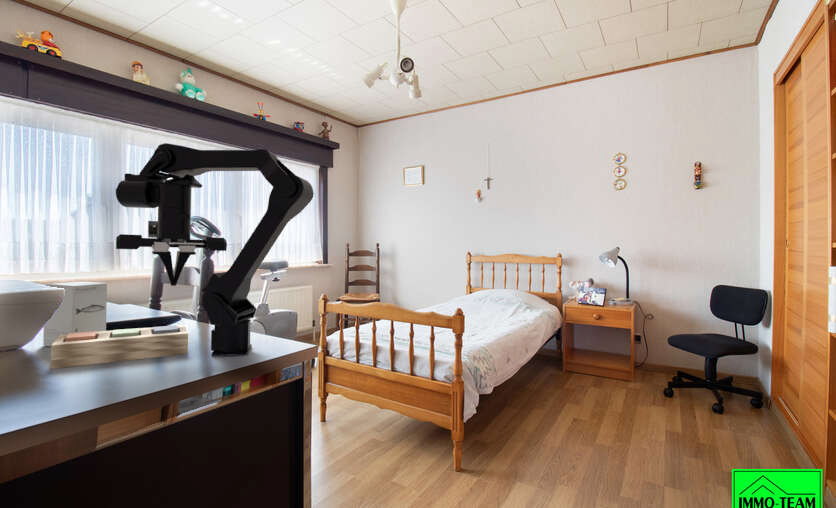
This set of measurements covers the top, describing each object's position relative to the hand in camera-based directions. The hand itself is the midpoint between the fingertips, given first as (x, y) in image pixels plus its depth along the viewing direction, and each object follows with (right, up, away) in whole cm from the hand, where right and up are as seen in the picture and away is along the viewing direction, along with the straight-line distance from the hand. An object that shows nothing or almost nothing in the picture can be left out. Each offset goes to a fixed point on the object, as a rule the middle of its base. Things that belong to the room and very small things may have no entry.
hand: (173, 285), depth 81 cm
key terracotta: (-12, -11, -9) cm, 18 cm away
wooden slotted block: (-6, -13, -5) cm, 15 cm away
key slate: (-1, -11, -1) cm, 11 cm away
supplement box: (-22, -12, +2) cm, 25 cm away
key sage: (-6, -11, -5) cm, 13 cm away
